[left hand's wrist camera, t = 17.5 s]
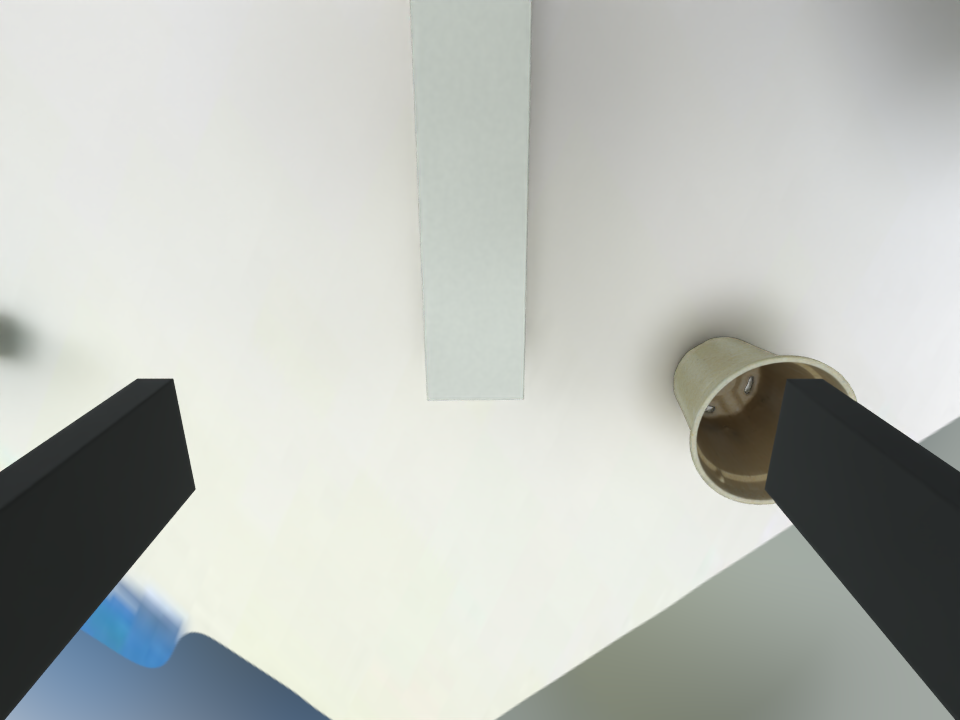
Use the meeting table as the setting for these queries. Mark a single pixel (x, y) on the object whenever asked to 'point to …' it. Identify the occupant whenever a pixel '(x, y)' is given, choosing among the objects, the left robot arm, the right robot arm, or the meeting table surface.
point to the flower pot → (739, 410)
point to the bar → (473, 192)
